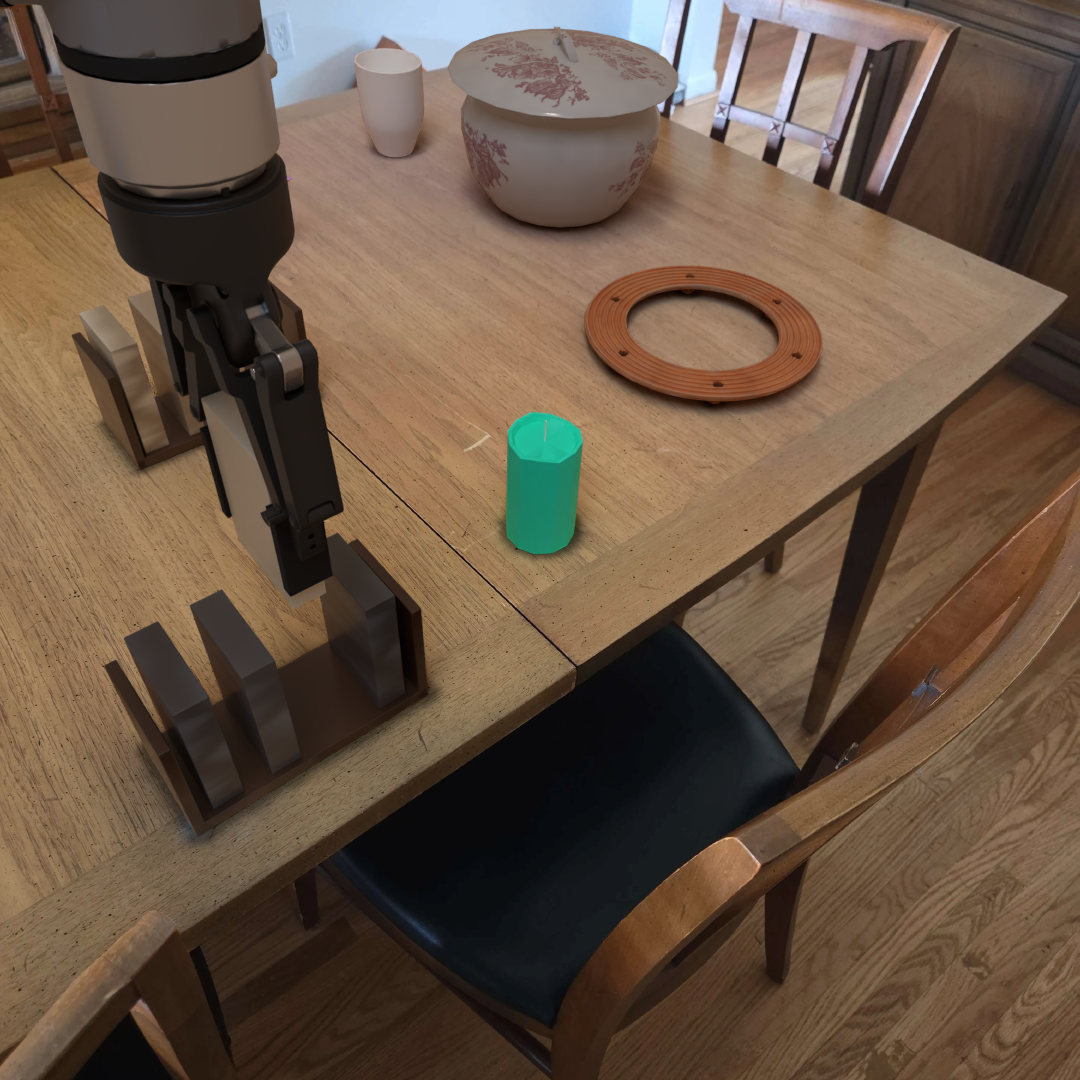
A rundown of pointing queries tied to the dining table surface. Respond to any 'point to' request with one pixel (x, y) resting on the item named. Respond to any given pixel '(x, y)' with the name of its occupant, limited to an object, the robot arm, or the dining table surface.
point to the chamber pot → (560, 120)
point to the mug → (391, 98)
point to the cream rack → (124, 385)
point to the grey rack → (275, 689)
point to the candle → (542, 482)
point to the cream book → (247, 490)
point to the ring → (757, 380)
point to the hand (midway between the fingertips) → (275, 542)
